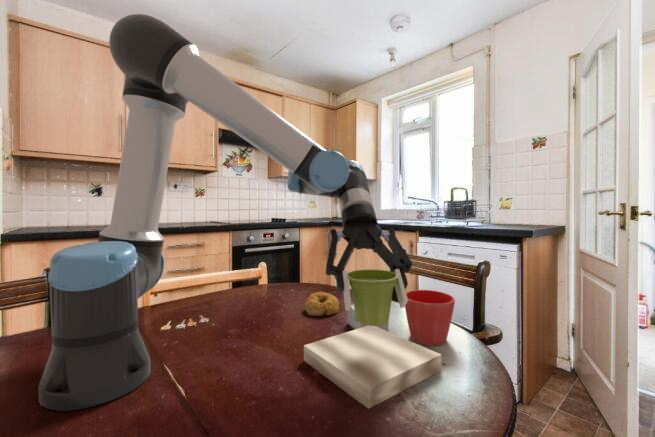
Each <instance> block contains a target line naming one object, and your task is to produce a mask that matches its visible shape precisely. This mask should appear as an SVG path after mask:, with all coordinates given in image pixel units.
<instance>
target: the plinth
mask: <svg viewBox="0 0 655 437" xmlns="http://www.w3.org/2000/svg"><path fill="white" fill-rule="evenodd" d="M303 361H304V362H305V363H306V364H308V365H309V366H311V368H313V369H314V370H315V371H317V372H319V374H321V375H322V376H323V377H325V378H326V379H328V380H329V381H331V382H332V383H333V384H334V385H336V386H337V387H338V388H340V389H341V390H343V391H344V392H345V393H347V395H349V396H350V397H351V398H353V399H354V400H356V401H357V402H358V403H360V404H361V405H362V406H364V407H365V408H366V409H371V408H373V407H375V406H376V405H380V404H381V403H382V402H385V401H387V400H388V399H390V398H392V397H394V396H397V395H398V394H400V393H402V392H404V391H406V390H408V389H410V388H411V387H414V386H415V385H417V384H419V383H420V382H423V381H425V380H426V379H428V378H431V377H433V376H434V375H437V373H438V374H439V373H440V372H442V354H441V353H439V352H436V351H434V350H431V349H429V348H427V347H425V346H422V345H421V344H419V343H417V342H414V341H413V342H412V341H410V340H408V339H406V338H404V337H401V336H399V335H397V334H394V333H392V332H390V331H389V330H388V331H385V330H383V329H381V328H378V327H376V326H369V325H368V326H365V327H362V328H358V329H353V330H350V331H346V332H343V333H342V332H341V333H338V334H336V335H333V336H329V337H325V338H323V339H320V340H316V341H314V342H311V343H307V344H304V345H303Z"/></svg>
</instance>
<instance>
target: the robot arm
mask: <svg viewBox="0 0 655 437" xmlns="http://www.w3.org/2000/svg"><path fill="white" fill-rule="evenodd" d="M108 44H109V51H110V54H111V57H112V59H113V62H114V63H115V65H116V66H117V68H118V69H119V70H120V71H121V72H122V73H123V74H124V76H125V80H124V82H123V83H124V85H123V90H122V95H121V96H122V98H121V100H122V101H123V102H124V104H125V105H126V107H128V110H129V111H128V117H127V123H126V127H125V128H126V129H125V134H124V139H123V140H124V141H123V145H122V153H121V160H120V164H119V165H120V166H119V171H118V176H117V183H116V189H115V196H114V201H113V206H112V213H111V219H110V224H109V225H108V226H106V227H105V228H103V229H102V230H101V231H99V233H98V234H99V236H98V240H97V241H92V242H85V243H84V244H75V245H71V246H68V247H65V248H62V249H60V250H58V251H57V252H55V253H54V254H53V255H52V257H51V258H50V262H49V272H48V276H47V277H48V278H47V280H48V284H49V299H50V304H49V305H50V322H51V323H50V324H51V325H50V326H51V351H50V353H49V357H48V359H47V362H46V364H45V367H44V370H43V373H42V376H41V377H40V378H41V379H40V381H39V384H38V390H37V391H38V403H40V404H39V405H40V407H42V406H43V407H45V408H48V409H51V410H50V411H53V410H56V411H55V412H69V411H70V412H71V411H77V410H83V409H88V408H92V407H96V406H99V405H102V404H106V403H108V402H111V401H114V400H115V399H116V400H117V399H118V398H121V397H122V396H125V395H126V394H128V393H130V392H132V391H134V390H136V388H138V387H139V386H141V385H142V384H143V383H144V382H146V380H147V379H148V378H149V377H150V374H151V368H152V367H151V356H150V355H149V354H150V353H149V352H148V349H147V346H146V345H145V342H144V340H143V338H142V336H141V333H140V331H139V308H138V307H139V304H138V299H140V298H141V297H142V296H143V295H145V294H146V293H148V292H149V291H150V290H152V289H153V288H154V287H155V286H157V284H158V283H159V281H160V279H161V278H162V275H163V273H164V271H165V270H164V269H165V258H164V257H165V256H164V255H163V248H164V241H165V238H164V236H163V235H162V234H161V233H160V231H159V224H160V217H161V213H162V212H161V211H162V205H163V200H164V194H165V187H166V181H167V176H168V170H169V162H170V159H171V158H170V157H171V151H172V146H173V140H174V134H175V133H174V132H175V126H176V122H178V121H179V120H181V119H182V118H184V117H185V114H186V109H187V104H188V103H189V102H190V103H191V104H192V105H193V106H196V108H198V109H200V110H201V111H202V112H204V113H206V114H207V115H208V116H209V117H211V118H212V119H214V120H216V121H217V122H218V123H220V124H221V125H223V126H224V127H225V128H227V129H228V130H230V131H231V132H233V133H234V134H235V135H236V136H239V137H240V138H242V139H243V140H245V141H246V142H247V143H249V144H250V145H251V146H253V147H254V148H256V149H257V150H258V151H261V153H263V154H265V155H266V156H268V157H269V158H270V159H272V160H273V161H275V163H277V164H279V165H280V166H282V167H283V168H285V170H288V174H287V181H286V182H287V183H286V185H287V190H288V191H290V192H294V193H298V194H300V195H303V194H305V195H311V196H312V195H313V196H321V197H327V198H332V199H333V198H335V199H338V203H339V209H340V215H341V223H342V230H338V231H337V230H336V229H334V228H332V229H330V233H329V240H330V246H329V250H328V256H327V261H326V265H325V275H326V276H330V275H331V276H334V279H335V282H336V291H337V292H342V293H343V302H344V309H345V311H348V310H350V306H351V304H352V299H351V291H350V283H349V279H348V277H347V273H348V271H347V270H345V269H346V267H347V265H348V262H350V259H351V257H352V254H353V253H354V251H355V249H356V250H363V249H366V250H372V252H374V253H376V254H377V255H378V256H379V258H380V259H381V260H382V261H383V262H384V263H385V264H386V266H388V268H389V269H390V271H391V272H394V273H396V274H397V275H398V278H397V279H396V282H395V286H394V288H395V292H396V296H397V301H398V304H399V308H401V309H404V308H405V305H406V303H407V301H408V298H407V295H406V292H407V291H406V289H407V287H408V284H409V281H408V279H407V275H406V274H407V273H409V272H410V270H411V268H412V266H413V262H412V261H411V259H410V257H409V255H408V254H407V252H406V251H405V249H404V248H403V246H402V244H401V242H400V241H399V239H398V238H397V235H396V232H395V231H396V230H395V229H394V228H393V227H390V228H389V229H388V230H385V229H384V230H382V228H381V227H380V226H379V223H378V219H377V214H376V211H375V206H374V202H373V200H372V199H373V198H372V197H371V192H370V188H369V184H368V183H369V182H368V177H367V175H366V173H365V170H364V168H363V166H362V164H360V163H359V162H357V161H355V160H347V158H346V156H344V154H342V152H341V153H340V152H339V151H337V150H334V149H325V148H324V147H322V145H320V144H319V143H317V142H316V141H314V140H312V138H310V137H308V136H307V135H306V134H305V133H303V132H302V131H301V130H299V129H298V128H297V127H295V126H294V125H293V124H291V123H290V122H289V121H288V120H286V119H285V118H283V117H282V116H280V114H278V113H276V112H275V110H272V109H271V108H269V107H268V105H266V104H264V103H263V102H262V101H260V100H259V99H258V98H256V97H255V96H253V95H252V94H251V93H250V92H248V91H247V90H245V89H244V88H243V87H242V86H240V85H239V84H238V83H236V82H235V81H233V80H232V79H231V78H230V77H228V76H227V75H225V74H224V73H222V71H220V70H219V69H217V68H216V67H215V66H213V64H211V63H209V62H208V61H206V60H205V59H204V58H203V57H201V56H200V54H199V53H200V52H199V49H198V47H197V46H196V45H195V44H194V43H193V42H191V41H190V40H188V39H187V38H185V36H183V35H182V34H180V33H179V32H178V31H176V30H175V29H173V28H172V27H171V26H170V25H168V24H166V23H165V22H164V21H162V20H161V19H159V18H157V17H154V16H151V15H147V14H143V13H142V14H140V13H136V14H134V13H133V14H129V15H125V16H123V17H121V18H120V19H119V20H117V22H115V24H114V25H113V27H112V29H111V31H110V35H109V42H108ZM381 237H382V238H383V239H384V241H383V239H382V238H381ZM341 239H344V241H346V242H347V245H346V247H345V249H344V251H343V253H342V255H341V258H340V259H339V261H338V263H337V265H334V263H335V257H336V252H337V246H338V243H339V242H340V241H341ZM384 242H385V243H386V242H387V245H388V247H389V248H388V247H387V246H386V245H385V244H384ZM43 407H42V408H43ZM45 408H44V409H45ZM48 409H47V410H48Z"/></svg>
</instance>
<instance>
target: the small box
mask: <svg viewBox="0 0 655 437" xmlns="http://www.w3.org/2000/svg"><path fill="white" fill-rule="evenodd" d="M389 321H390V320H389ZM389 321H388V322H387V323H386V324H385V323H382V324H381V325H379V326H376V327H378V328H381V329H383V330H385V331H388V332H389ZM347 324H348V325H349V326H350V327H351V328H352V329H353V330H355V329H358V328H362V327H365V326H368V325H364V324H362V323H361V322H359V321H357V320H356V316H355V309H354V303H351V306H350V310H347Z"/></svg>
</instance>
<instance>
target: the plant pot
mask: <svg viewBox="0 0 655 437" xmlns="http://www.w3.org/2000/svg"><path fill="white" fill-rule="evenodd" d="M347 277H348V282H349V287H350V288H351V294H352V300H353V301H352V302H353V304H354V309H355V316H356V320H357V321H359V322H361V323H362V324H364V325H369V326H379V325H381V324H382V323H385V324H386V323H387V322H388V321H390V314H391V306H392V299H393V292H394V288H395V282H396V279H397V278H398V275H397V274H396V273H394V272H393V271H392V270H390V271H389V270H385V269H372V268H371V269H368V268H367V269H357V270H352V271H349V272H347Z"/></svg>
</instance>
